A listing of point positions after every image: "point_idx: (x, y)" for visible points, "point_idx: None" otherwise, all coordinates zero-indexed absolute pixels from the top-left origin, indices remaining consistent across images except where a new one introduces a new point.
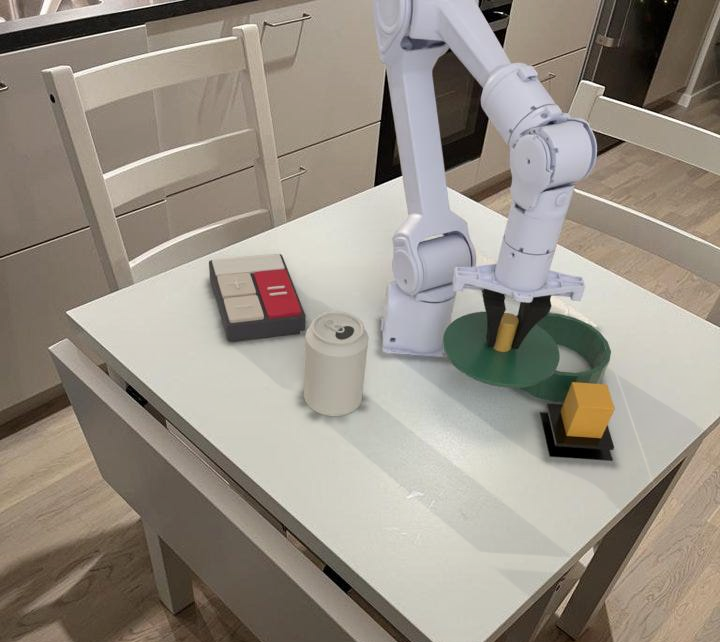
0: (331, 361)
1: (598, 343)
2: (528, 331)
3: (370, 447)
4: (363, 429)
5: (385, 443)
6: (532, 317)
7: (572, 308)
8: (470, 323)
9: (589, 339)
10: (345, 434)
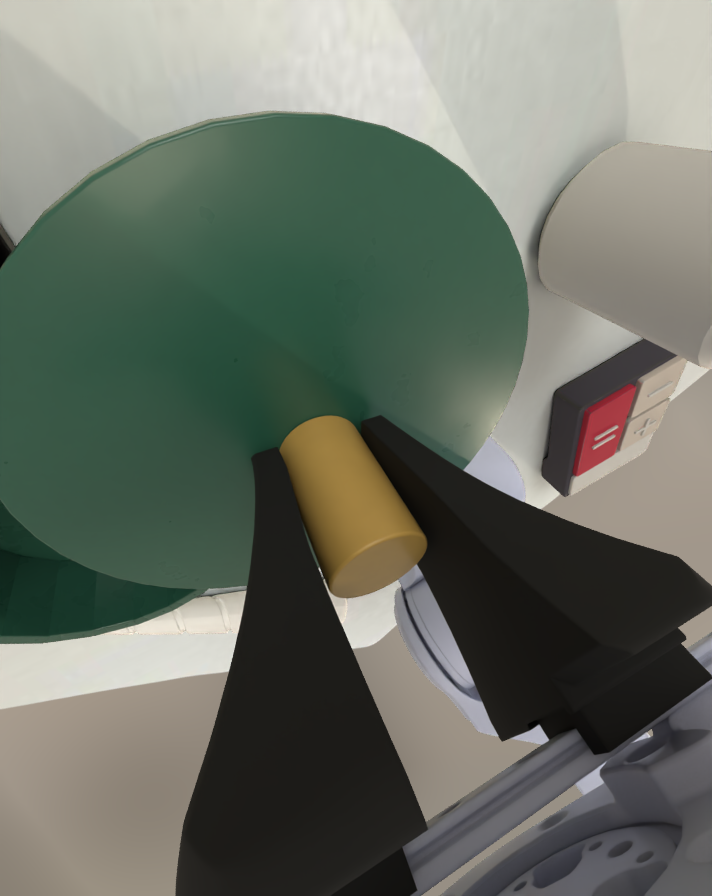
0: None
1: None
2: (259, 555)
3: (569, 14)
4: (557, 116)
5: (525, 47)
6: (310, 685)
7: (119, 634)
8: None
9: (22, 608)
10: (604, 81)
